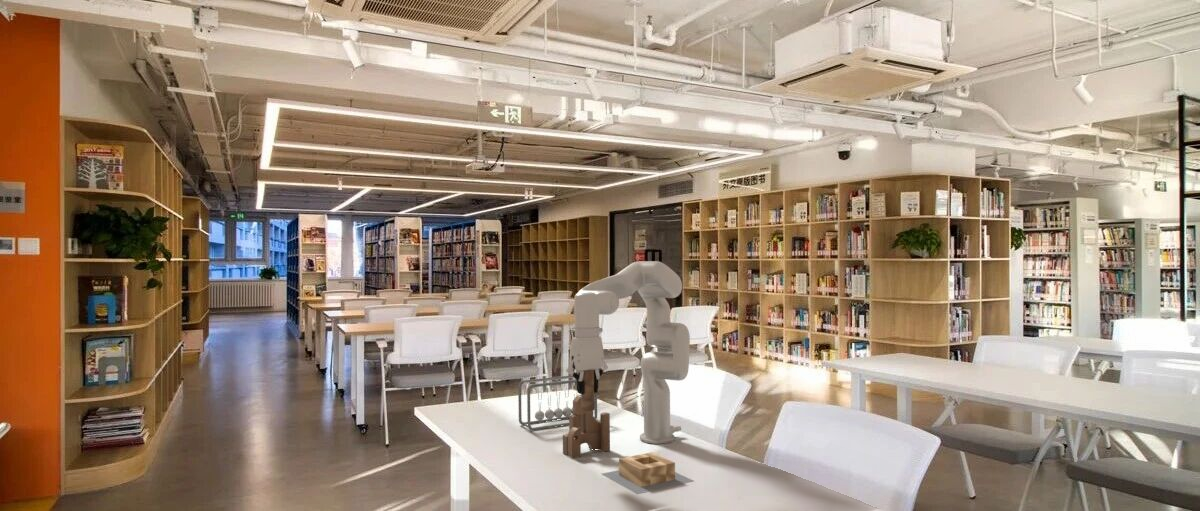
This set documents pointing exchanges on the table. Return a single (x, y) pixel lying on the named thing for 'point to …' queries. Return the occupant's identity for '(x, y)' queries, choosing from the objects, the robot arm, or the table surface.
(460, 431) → the table surface
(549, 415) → the newton's cradle
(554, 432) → the table surface
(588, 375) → the walnut dowel
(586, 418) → the wooden toy
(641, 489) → the slate mat
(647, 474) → the square-hole wood block
